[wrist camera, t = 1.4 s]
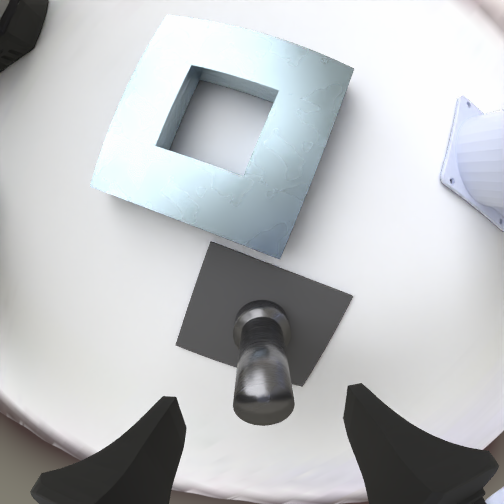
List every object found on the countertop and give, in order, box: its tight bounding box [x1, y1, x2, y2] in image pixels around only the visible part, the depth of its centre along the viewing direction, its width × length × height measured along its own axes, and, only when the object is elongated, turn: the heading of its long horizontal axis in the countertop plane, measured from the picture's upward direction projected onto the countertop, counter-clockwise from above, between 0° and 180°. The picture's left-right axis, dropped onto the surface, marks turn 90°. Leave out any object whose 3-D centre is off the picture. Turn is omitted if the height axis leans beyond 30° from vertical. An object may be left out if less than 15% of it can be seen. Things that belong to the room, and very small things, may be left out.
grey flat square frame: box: [90, 15, 354, 259], centre depth 15 cm, size 12×12×2 cm
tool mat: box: [176, 242, 353, 386], centre depth 19 cm, size 10×8×1 cm
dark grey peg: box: [233, 300, 294, 426], centre depth 15 cm, size 4×4×8 cm
